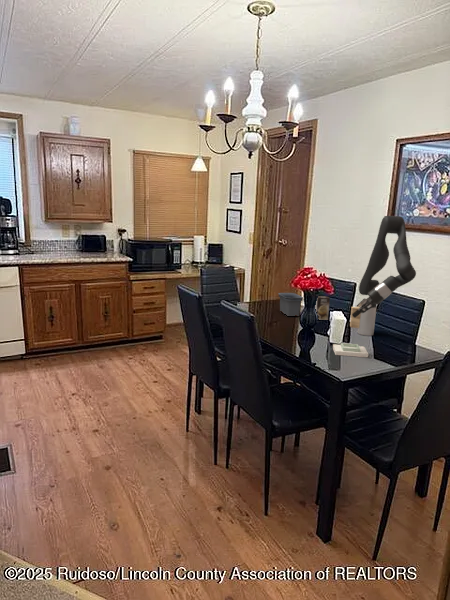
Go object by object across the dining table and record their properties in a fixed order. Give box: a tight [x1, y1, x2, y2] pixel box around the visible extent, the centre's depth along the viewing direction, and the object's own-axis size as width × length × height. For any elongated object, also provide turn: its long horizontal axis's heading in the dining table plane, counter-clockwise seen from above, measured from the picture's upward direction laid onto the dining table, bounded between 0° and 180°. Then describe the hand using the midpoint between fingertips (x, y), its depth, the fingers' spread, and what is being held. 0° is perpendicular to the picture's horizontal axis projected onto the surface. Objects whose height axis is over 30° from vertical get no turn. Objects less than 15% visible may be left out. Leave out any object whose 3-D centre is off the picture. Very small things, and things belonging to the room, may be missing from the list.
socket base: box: [332, 342, 369, 358], centre depth 218 cm, size 12×16×4 cm
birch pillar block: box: [349, 306, 361, 329], centre depth 215 cm, size 4×4×10 cm
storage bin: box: [277, 292, 304, 317], centre depth 300 cm, size 21×16×14 cm
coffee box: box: [315, 295, 331, 320], centre depth 287 cm, size 9×6×16 cm
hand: (352, 315), depth 215 cm, fingers closed on birch pillar block, 4 cm apart
